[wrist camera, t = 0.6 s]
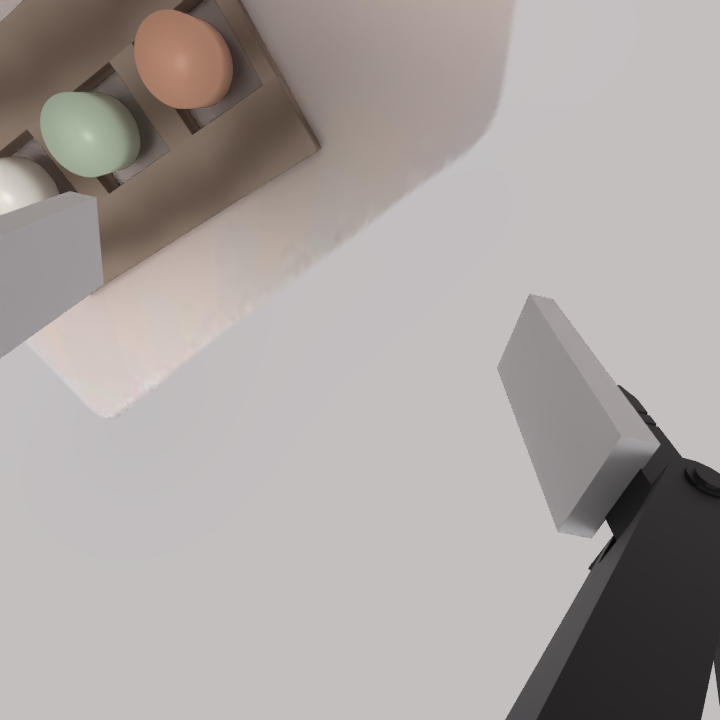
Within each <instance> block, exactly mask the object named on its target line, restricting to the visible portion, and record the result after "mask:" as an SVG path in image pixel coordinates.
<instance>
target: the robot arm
mask: <svg viewBox="0 0 720 720" xmlns="http://www.w3.org/2000/svg"><path fill="white" fill-rule="evenodd" d="M102 285H104V281H103V270H102V258H101V246H100V235H99V223H98V211H97V199H96V197H93V196H89V195H84V194H80V193H75V192H71V191H68V192H66V193H63V194H60V195H57V196H54V197H51V198H48V199H46V200H43V201H40V202H37V203H34V204H31V205H28V206H25V207H23V208H20V209H17V210H14V211H11V212H8V213H5V214H2V215H0V358H2V357H3V356H4V355H6V354H7V353H9V352H10V351H11V350H13V349H14V348H15V347H17V346H18V345H20V344H21V343H22V342H24V341H25V340H27V339H28V338H29V337H31V336H32V335H34V334H35V333H36V332H38V331H39V330H41V329H42V328H43V327H45V326H46V325H48V324H49V323H50V322H52V321H53V320H55V319H56V318H57V317H59V316H60V315H62V314H63V313H64V312H66V311H67V310H69V309H70V308H71V307H73V306H74V305H76V304H77V303H78V302H80V301H81V300H83V299H84V298H85V297H87V296H88V295H90V294H91V293H92V292H94V291H95V290H97V289H98V288H99V287H101V286H102ZM497 369H498V372H499V374H500V377H501V380H502V382H503V385H504V388H505V390H506V393H507V396H508V399H509V401H510V404H511V407H512V409H513V412H514V415H515V417H516V420H517V423H518V426H519V428H520V431H521V434H522V436H523V439H524V442H525V444H526V447H527V450H528V453H529V455H530V458H531V460H532V463H533V466H534V468H535V471H536V474H537V477H538V480H539V482H540V485H541V488H542V490H543V493H544V496H545V498H546V501H547V504H548V507H549V509H550V512H551V515H552V517H553V520H554V523H555V525H556V528H557V531H558V532H561V533H566V534H571V535H576V536H581V537H587V538H592V537H593V536H594V535H595V533H596V532H597V530H598V529H599V528H600V526H601V525H602V524H603V522H604V521H605V520H607V523H608V525H609V527H610V528H611V531H612V533H613V537H612V538H611V539H610V540H609V542H608V543H607V544H606V546H605V547H604V548H603V550H602V551H601V552H600V554H599V555H598V556H597V557H596V559H595V560H594V562H593V563H592V564H591V566H590V567H589V569H590V570H591V572H590V573H589V575H588V577H587V579H586V580H585V582H584V584H583V586H582V587H581V589H580V591H579V592H578V594H577V596H576V598H575V600H574V601H573V603H572V605H571V607H570V608H569V610H568V612H567V613H566V615H565V617H564V619H563V620H562V622H561V624H560V626H559V627H558V629H557V631H556V632H555V634H554V636H553V638H552V639H551V641H550V643H549V645H548V647H547V648H546V650H545V652H544V653H543V655H542V657H541V659H540V661H539V663H538V664H537V666H536V667H535V669H534V671H533V673H532V675H531V676H530V678H529V680H528V681H527V683H526V685H525V687H524V688H523V690H522V692H521V694H520V695H519V697H518V699H517V700H516V702H515V704H514V706H513V707H512V709H511V711H510V713H509V714H508V716H507V718H506V720H701V717H702V712H703V708H704V703H705V698H706V693H707V689H708V683H709V679H710V674H711V669H712V665H713V660H714V666H715V673H716V681H717V688H718V696H719V704H720V474H719V473H718V472H716V471H715V470H713V469H712V468H710V467H708V466H705V465H703V464H701V463H699V462H696V461H693V460H689V459H685V458H682V457H681V455H680V454H679V453H678V452H677V450H676V449H675V448H674V446H673V445H672V444H671V442H670V441H669V440H668V439H667V437H666V436H665V435H664V433H663V432H662V431H661V430H660V428H659V427H656V423H655V422H654V420H653V419H652V418H651V417H650V416H649V415H647V411H646V410H645V409H644V407H643V406H642V405H641V404H640V402H639V401H638V400H637V399H636V398H635V397H634V396H633V395H631V394H630V393H629V392H628V391H626V390H625V389H624V388H623V387H621V386H619V385H616V383H615V382H614V381H613V379H612V378H611V377H610V375H609V374H608V372H607V371H606V370H605V368H604V367H603V366H602V365H601V363H600V362H599V360H598V359H597V358H596V356H595V355H594V354H593V352H592V351H591V350H590V348H589V347H588V346H587V344H586V343H585V342H584V340H583V339H582V337H581V336H580V335H579V334H578V332H577V331H576V330H575V328H574V327H573V326H572V324H571V323H570V321H569V320H568V319H567V317H566V316H565V314H564V313H563V312H562V311H561V309H560V308H559V307H558V305H557V304H556V302H555V301H554V300H553V299H550V298H545V297H541V296H536V295H532V294H529V296H528V298H527V301H526V303H525V305H524V308H523V310H522V312H521V315H520V317H519V319H518V321H517V324H516V326H515V328H514V331H513V333H512V335H511V338H510V340H509V342H508V344H507V347H506V349H505V351H504V353H503V356H502V358H501V360H500V363H499V365H498V367H497Z"/></svg>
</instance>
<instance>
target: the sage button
mask: <svg viewBox="0 0 720 720" xmlns="http://www.w3.org/2000/svg"><path fill="white" fill-rule="evenodd" d="M40 128H41V133H42V137H43V140H44V142H45V144H46V146H47V148H48V150H49V151H50V153H51V154H52V156H53V157H54V158H55V159H56V160H57V161H58V162H59V163H60V164H61V165H62V166H63V167H64V168H66V169H67V170H69V171H70V172H72V173H74V174H77V175H80V176H84V177H98V176H101V175H105V174H108V173H112V172H115V171H119V170H122V169H125V168H127V167H129V166H130V165H131V164H132V163H133V162H134V161H135V160H136V158H137V156H138V154H139V150H140V133H139V129H138V126H137V124H136V122H135V120H134V118H133V116H132V114H131V113H130V112H129V110H128V109H127V108H126V107H125V106H124V105H123V104H122V103H121V102H120V101H118V100H117V99H115V98H114V97H112V96H110V95H108V94H105V93H101V92H62V93H58V94H56V95H53V96H52V97H51V98H49V99H48V100H47V101H46V103H45V104H44V106H43V108H42V111H41V116H40Z"/></svg>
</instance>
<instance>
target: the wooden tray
mask: <svg viewBox="0 0 720 720" xmlns="http://www.w3.org/2000/svg"><path fill="white" fill-rule="evenodd" d="M201 1H202V0H23V1H22V2H21V3H20V4H19V5H18V6H17V7H16V8H15V9H14V10H13V11H12V12H11V13H10V14H9V15H7V16H6V17H5V18H4V19H3V20H2V21H1V22H0V158H5V157H9V156H11V155H12V154H13V153H14V152H16V151H17V150H18V149H19V148H21V147H22V146H23V145H24V144H25V143H27V142H28V141H29V140H30V139H32V138H33V137H34V138H35V140H36V141H37V142H38V143H39V145H40V146H41V147H42V148H43V150H44V151H45V152H46V153H47V155H48V156H49V157H50V158H51V159H52V161H53V162H54V163H55V164H56V166H57V167H58V168H59V169H60V171H61V172H62V173H63V174H64V176H65V177H66V178H67V179H68V181H69V182H70V183H71V184H72V186H73V187H74V188H75V189H76V191H77V192H78V193H80V194H84V195H89V196H93V197H96V199H97V211H98V223H99V235H100V246H101V258H102V270H103V281H104V284H106V283H107V282H109V281H110V280H112V279H114V278H115V277H117V276H118V275H120V274H122V273H123V272H125V271H126V270H128V269H130V268H131V267H133V266H134V265H136V264H137V263H139V262H141V261H142V260H144V259H145V258H147V257H149V256H150V255H152V254H153V253H155V252H157V251H158V250H160V249H161V248H163V247H165V246H166V245H168V244H169V243H171V242H173V241H174V240H176V239H177V238H179V237H181V236H182V235H184V234H185V233H187V232H189V231H190V230H192V229H193V228H195V227H197V226H198V225H200V224H201V223H203V222H205V221H206V220H208V219H209V218H211V217H212V216H214V215H216V214H217V213H219V212H220V211H222V210H224V209H225V208H227V207H228V206H230V205H232V204H233V203H235V202H236V201H238V200H240V199H241V198H243V197H244V196H246V195H248V194H249V193H251V192H252V191H254V190H256V189H257V188H259V187H260V186H262V185H264V184H265V183H267V182H268V181H270V180H272V179H273V178H275V177H276V176H278V175H280V174H281V173H283V172H284V171H286V170H287V169H289V168H291V167H292V166H294V165H295V164H297V163H299V162H300V161H302V160H303V159H305V158H307V157H308V156H310V155H311V154H313V153H315V152H316V151H318V150H319V149H320V148H321V147H320V145H319V143H318V141H317V140H316V138H315V136H314V134H313V132H312V130H311V129H310V127H309V125H308V123H307V121H306V119H305V118H304V116H303V114H302V112H301V110H300V108H299V107H298V105H297V103H296V101H295V99H294V98H293V96H292V94H291V92H290V90H289V88H288V87H287V85H286V83H285V81H284V79H283V77H282V76H281V74H280V72H279V70H278V68H277V66H276V65H275V63H274V61H273V59H272V57H271V55H270V54H269V52H268V50H267V48H266V46H265V44H264V43H263V41H262V39H261V37H260V35H259V33H258V32H257V30H256V28H255V26H254V24H253V23H252V21H251V19H250V17H249V15H248V13H247V12H246V10H245V8H244V6H243V4H242V2H241V1H240V0H215V1H216V3H217V5H218V6H219V8H220V10H221V12H222V14H223V15H224V17H225V19H226V21H227V22H228V24H229V26H230V28H231V29H232V31H233V33H234V35H235V36H236V38H237V40H238V42H239V43H240V45H241V47H242V49H243V51H244V52H245V54H246V56H247V58H248V59H249V61H250V63H251V65H252V66H253V68H254V70H255V72H256V73H257V75H258V77H259V79H260V80H261V82H262V84H263V86H261V87H260V88H259V89H257V90H256V91H254V92H253V93H251V94H250V95H249V96H247V97H246V98H244V99H243V100H242V101H240V102H239V103H237V104H236V105H234V106H233V107H232V108H230V109H229V110H227V111H226V112H225V113H223V114H222V115H220V116H219V117H217V118H216V119H215V120H213V121H212V122H210V123H209V124H207V125H206V126H205V127H203V128H202V129H200V128H199V127H198V125H197V123H196V122H195V120H194V119H193V117H192V116H191V114H190V113H189V111H188V110H187V109H178V108H174V107H171V106H168V105H166V104H164V103H163V102H161V101H160V100H158V99H157V98H156V97H155V96H154V95H153V94H152V93H151V92H150V91H149V90H148V88H147V87H146V86H145V84H144V83H143V81H142V79H141V77H140V75H139V72H138V70H137V67H136V63H135V57H134V42H135V37H136V34H137V31H138V29H139V27H140V25H141V23H142V22H143V21H144V20H145V19H146V18H147V17H148V16H149V15H150V14H152V13H154V12H156V11H159V10H166V9H169V10H176V11H180V12H182V13H185V14H186V13H187V12H189V11H190V10H191V9H192V8H193V7H195V6H196V5H197V4H198V3H200V2H201ZM114 71H116V73H117V74H118V75H119V77H120V78H121V80H122V81H123V83H124V84H125V86H126V87H127V88H128V90H129V91H130V93H131V94H132V96H133V97H134V99H135V100H136V102H137V103H138V104H139V106H140V107H141V109H142V110H143V112H144V113H145V115H146V116H147V118H148V119H149V120H150V122H151V123H152V125H153V126H154V128H155V129H156V131H157V132H158V134H159V135H160V136H161V138H162V139H163V141H164V142H165V144H166V145H167V147H168V148H169V150H170V151H169V152H168V153H166V154H165V155H163V156H162V157H161V158H159V159H158V160H156V161H155V162H154V163H152V164H151V165H149V166H148V167H146V168H145V169H144V170H142V171H141V172H139V173H138V174H136V175H135V176H134V177H132V178H131V179H129V180H128V181H127V182H125V183H124V184H122V185H121V186H120V185H119V183H118V182H117V181H116V179H115V178H114V177H113V175H112V174H111V173H108V174H105V175H101V176H98V177H84V176H80V175H77V174H74V173H72V172H70V171H69V170H67V169H66V168H64V167H63V166H62V165H61V164H60V163H59V162H58V161H57V160H56V159H55V158H54V157H53V156H52V154H51V153H50V151H49V150H48V148H47V146H46V144H45V142H44V140H43V137H42V133H41V128H40V116H41V111H42V108H43V106H44V104H45V103H46V101H47V100H48V99H49V98H51V97H52V96H53V95H56V94H58V93H62V92H90V91H91V90H92V89H93V88H95V87H96V86H97V85H98V84H100V83H101V82H102V81H103V80H105V79H106V78H107V77H108V76H109V75H111V74H112V73H113V72H114Z"/></svg>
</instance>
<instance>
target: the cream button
mask: <svg viewBox="0 0 720 720" xmlns="http://www.w3.org/2000/svg"><path fill="white" fill-rule="evenodd" d="M57 195H60V194H59V191H58V188H57V186H56V184H55V182H54V180H53V179H52V178H51V176H50V175H49V174H48V173H47V172H46V171H45V170H44V169H43V168H42V167H41V166H40V165H38V164H37V163H35V162H34V161H32V160H30V159H27V158H24V157H19V156H11V157H5V158H0V215H2V214H5V213H8V212H11V211H14V210H17V209H20V208H23V207H25V206H28V205H31V204H34V203H37V202H40V201H43V200H46V199H48V198H51V197H54V196H57Z"/></svg>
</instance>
